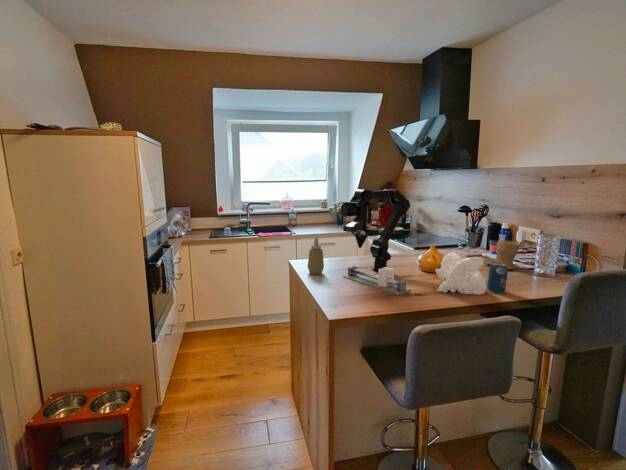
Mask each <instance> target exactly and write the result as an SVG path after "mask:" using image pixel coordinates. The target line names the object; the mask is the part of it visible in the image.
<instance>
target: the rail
mask: <svg viewBox="0 0 626 470" xmlns="http://www.w3.org/2000/svg"><path fill="white" fill-rule="evenodd" d="M357 274H360V275H363V276H366V277H369V278H373V279H376V280H378V274H374V273H371V272H367V271H364V270H361V269H358V266H356V265H353V266H349V267H347V275H348V276H353V275H357ZM387 283H389V284H392V285H396V286H397V291H398V292H401V291H404V290H406V288H407V280H405V279H402V280H399V281H398V280H395V279H394V280H392V279H388V280H387Z"/></svg>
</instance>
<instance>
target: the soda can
mask: <svg viewBox="0 0 626 470" xmlns="http://www.w3.org/2000/svg"><path fill="white" fill-rule="evenodd" d="M508 271H509V269H508V268H507V265H506V264H504V263H498V262H493V263H492V264H491V265H489V271H488V277H487V278H488V279H487V285H486V287H487V289H488V291H489V292H490V291H491V293H493V292H494V293H493V294H503V293H504V292H506V289H507V282H508V281H507V280H508Z"/></svg>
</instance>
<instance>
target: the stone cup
mask: <svg viewBox="0 0 626 470" xmlns="http://www.w3.org/2000/svg"><path fill="white" fill-rule="evenodd" d="M519 249H520V244H519V243H518V242H515V241H511V240H506V239H502V238H501V239H499V240H498V241H497V244H496V257H495V258H491V257H487V258H485V259H483V260H484V261H483V264H486V265H489V266H491V264H492V263H493V262H498V263H504V264H506V265H507V268H508V270H514V269H516V268H517V266H516V265H515V264H514V263H513V262H514V260H515V258H516V256H517V254H518V252H519Z"/></svg>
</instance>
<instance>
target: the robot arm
mask: <svg viewBox="0 0 626 470" xmlns="http://www.w3.org/2000/svg"><path fill="white" fill-rule="evenodd" d="M377 199H389V201H390V203H391V204H392V205H391V214H390V216H389V217H388V220H387V222H386V224H385V226H384V228H383V230H382V232H381V234H380V229H379V228H374V227H373V228H372V227H371V228H369V226H368V221H369V220H370V218H369V217H368V213H369V211H368V209H369V208H368V207H372V204H371V201H374V200H377ZM410 208H411V202H410V201H409V199H407V198H406V196H404V195H403V194H401V193H400V191H399V190H398V189H393V188H391V189H390V188H389V189H381V190H380V189H379V190H371V189H362V188H358V189H355V191H354V194H353V196H352V198H351V199H350V200H349V201H343V202H342V205H341V206H340V208H339V209H340V215H341V216H342V217H343V218H344V217H345V218H346V217H353V218H352V221H351V222H349V223H347V224H345V225H343V228H342V231H343V232H346V233H351V235H352V236H354V238H355V241H356V243H357V247H358V248H360V249H361V248H362V247H363V245H364V243H365V242H366V240H367V238H368V237H376V236H379V237H377V239H376V238H374V239H373V240H372V242H371V244H370V247H369V251H370V253H371V257H372V258H374V261H373V263H374V264H373V268H371V270H372V271H374V272H378V269H381V268H385V267H388V261H390V260H391V257H392V255H391V254H390V252H388V250H389V247H390V246H389V242H390V240H391V238H392V235H394V231H395V229H396V227H397V226H398V224H399V221H400V219H401V218H402V217H403V216H404V215H405V214H407V213H408V211H409V209H410Z"/></svg>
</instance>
